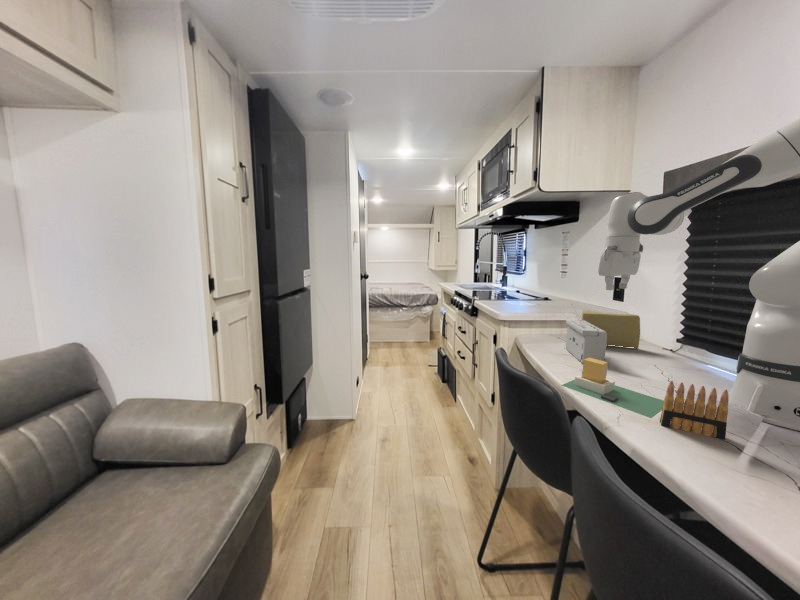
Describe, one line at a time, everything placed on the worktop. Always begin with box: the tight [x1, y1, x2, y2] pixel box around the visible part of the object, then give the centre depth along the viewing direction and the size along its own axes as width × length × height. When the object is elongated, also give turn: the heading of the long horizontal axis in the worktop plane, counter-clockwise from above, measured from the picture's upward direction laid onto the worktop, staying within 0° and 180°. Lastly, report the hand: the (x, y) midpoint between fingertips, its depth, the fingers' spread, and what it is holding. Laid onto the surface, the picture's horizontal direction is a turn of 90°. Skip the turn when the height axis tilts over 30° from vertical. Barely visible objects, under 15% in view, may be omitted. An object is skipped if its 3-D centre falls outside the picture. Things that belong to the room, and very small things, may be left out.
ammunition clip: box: [659, 380, 729, 441], centre depth 68 cm, size 11×2×12 cm, turn 59°
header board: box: [561, 375, 664, 419], centre depth 87 cm, size 22×14×4 cm, turn 33°
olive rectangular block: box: [580, 309, 641, 349], centre depth 138 cm, size 22×10×15 cm, turn 59°
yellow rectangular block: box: [581, 358, 609, 384], centre depth 91 cm, size 6×4×8 cm, turn 34°
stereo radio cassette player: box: [565, 303, 607, 364], centre depth 121 cm, size 21×8×20 cm, turn 168°
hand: (616, 289), depth 100 cm, fingers open, 8 cm apart
